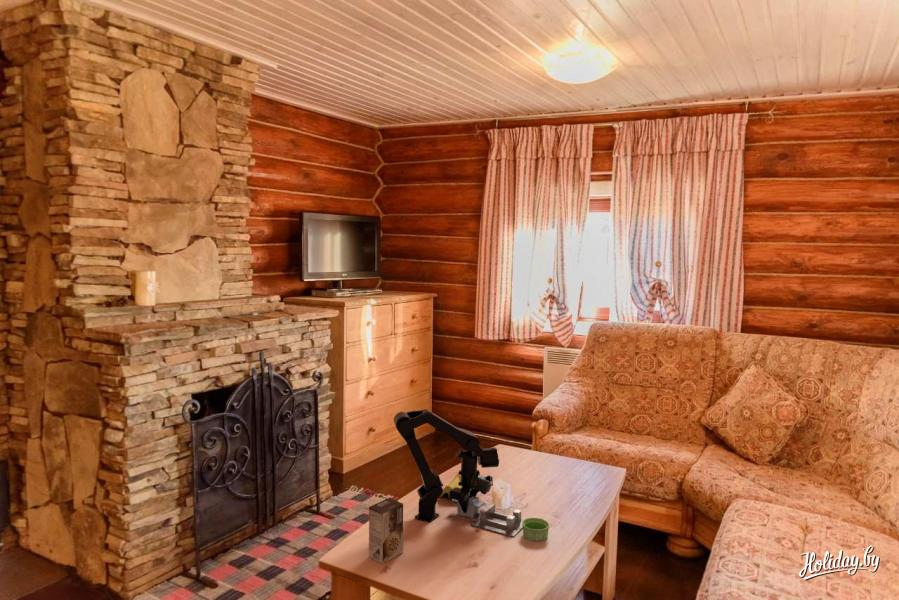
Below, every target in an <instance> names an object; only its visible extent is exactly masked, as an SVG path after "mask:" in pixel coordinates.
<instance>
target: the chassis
mask: <svg viewBox="0 0 899 600" xmlns="http://www.w3.org/2000/svg"><path fill="white" fill-rule="evenodd" d="M479 513H480V516H479V517H476V518H475V520H474V521H473V522H471V523H470V526H472V527H475V528H479V529H482V530H485V531H489V532H493V533H497V534H500V535H503V536H507V537H510V538H515V537H516V536H517V535H518V533H519V532H520V531H521V530H523V526H522V521H523V520H525V519H526V518H524V517H522V510H521V509H518V508H517V509H514V511H512V514H509V513H506V512H501V511H497V510H496V503H493V502H489V503H487V504H486V505H485V506H484V507H483V508H481V510H479Z"/></svg>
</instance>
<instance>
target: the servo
mask: <svg viewBox="0 0 899 600" xmlns="http://www.w3.org/2000/svg"><path fill="white" fill-rule="evenodd" d="M469 496H470V495H469ZM451 502H454V503H457V508H456V509H457V512H456V514H457V515H461V516H464V517H467V518H468V517H469V518H471V519H474V518H478V517H480V511H479V509H480V508H482V507H483V506H484V505H485V502H484V501H480V498H479V497H477V496H476V497H474V496H472V497H471V498H470V499H469V501H468V508H467V513H464V512H463V510H462V508H461V506H460V504H459V502H458V500H454V499H451Z"/></svg>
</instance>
